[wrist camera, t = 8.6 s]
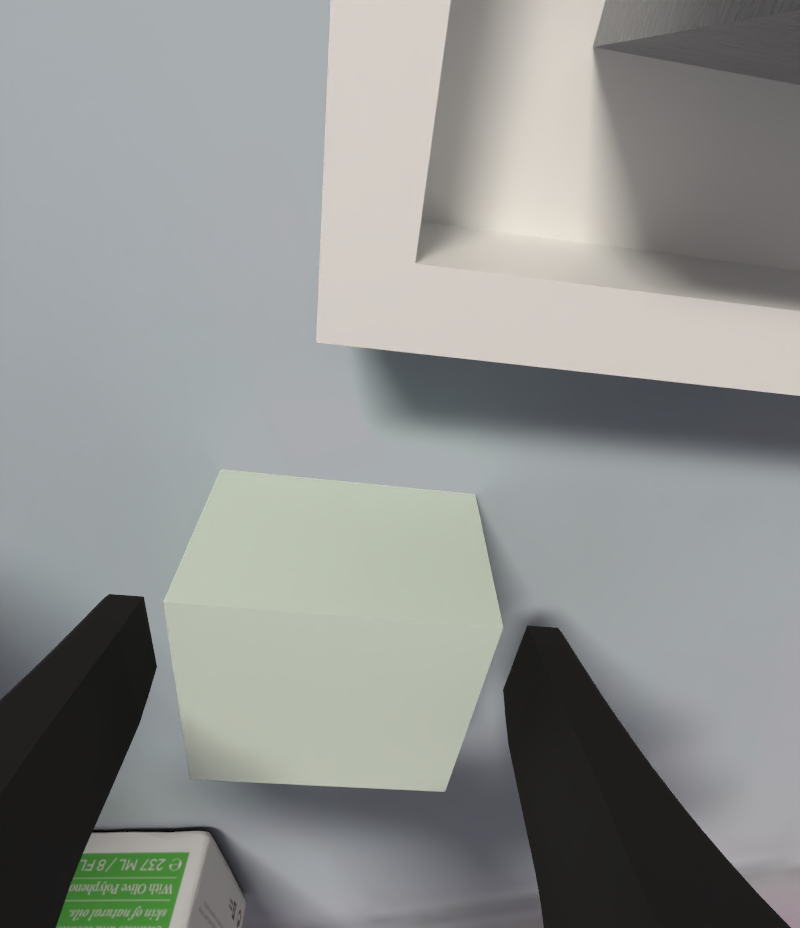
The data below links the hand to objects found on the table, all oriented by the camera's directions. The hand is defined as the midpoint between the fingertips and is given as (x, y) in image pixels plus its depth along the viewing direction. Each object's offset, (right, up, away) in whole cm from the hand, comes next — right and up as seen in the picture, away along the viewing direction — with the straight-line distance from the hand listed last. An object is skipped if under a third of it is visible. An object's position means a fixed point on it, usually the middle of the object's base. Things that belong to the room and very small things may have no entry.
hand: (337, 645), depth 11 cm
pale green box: (0, +1, +2) cm, 2 cm away
